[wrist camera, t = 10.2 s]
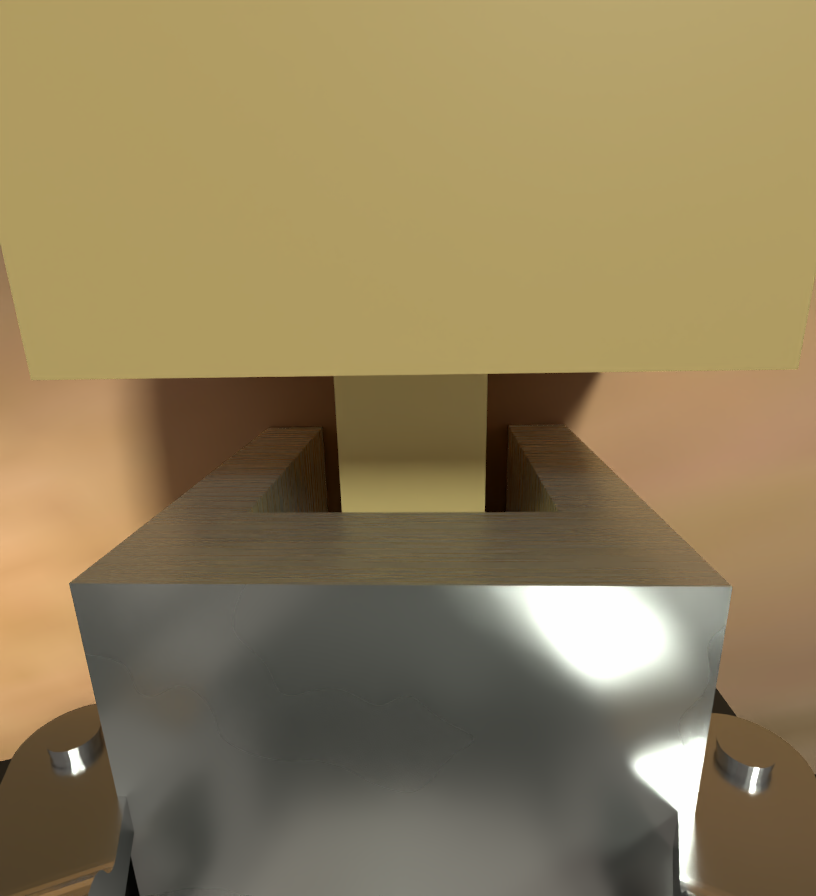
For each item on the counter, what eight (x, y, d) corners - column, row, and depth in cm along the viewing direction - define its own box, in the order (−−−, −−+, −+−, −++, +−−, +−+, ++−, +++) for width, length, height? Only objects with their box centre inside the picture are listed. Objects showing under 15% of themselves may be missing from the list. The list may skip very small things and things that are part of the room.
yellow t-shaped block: (639, 135, 8) (875, -50, 4) (568, 916, 13) (636, 1232, 8) (196, 151, 8) (-54, 1, 4) (286, 904, 13) (214, 1201, 9)
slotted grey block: (564, 424, 9) (732, 586, 4) (545, 738, 11) (642, 1126, 6) (269, 427, 10) (68, 582, 4) (299, 733, 12) (186, 1099, 6)
